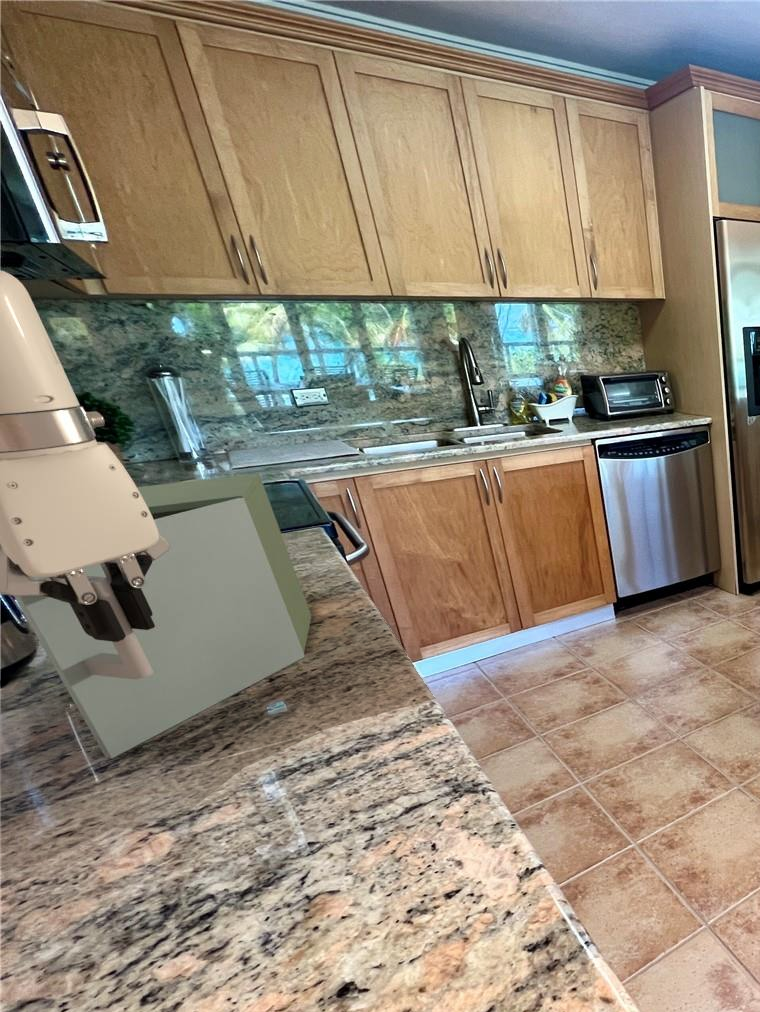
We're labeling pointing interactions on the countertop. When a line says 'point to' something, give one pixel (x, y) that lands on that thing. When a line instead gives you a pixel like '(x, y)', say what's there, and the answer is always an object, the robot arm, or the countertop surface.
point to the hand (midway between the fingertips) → (124, 632)
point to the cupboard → (251, 488)
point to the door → (174, 631)
